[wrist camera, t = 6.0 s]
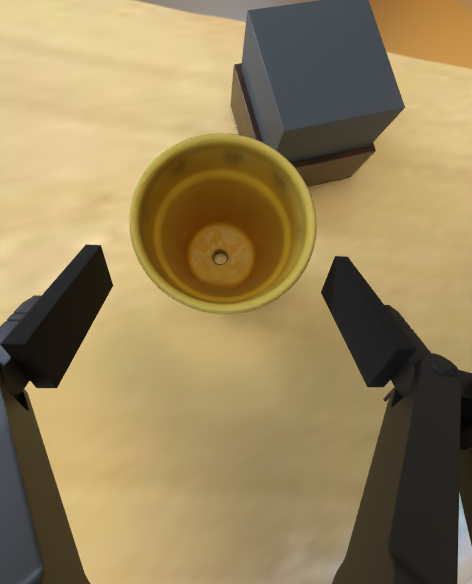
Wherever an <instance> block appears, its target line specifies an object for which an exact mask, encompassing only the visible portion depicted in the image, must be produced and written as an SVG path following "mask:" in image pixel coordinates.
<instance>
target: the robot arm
mask: <svg viewBox="0 0 472 584" xmlns="http://www.w3.org/2000/svg"><path fill="white" fill-rule="evenodd" d="M112 287H113V284H112V280H111V277H110V274H109V271H108V267H107V264H106V261H105V257H104V254H103V251H102V247H101V245H85V246H84V248H83V249H82V250H81V251H80V252H79V253H78V254H77V256H76V257H75V258H74V259H73V260H72V261H71V263H70V264H69V265H68V266H67V267H66V268H65V269H64V271H63V272H62V273H61V274H60V275H59V276H58V277H57V279H56V280H55V281H54V282H53V283H52V284H51V286H50V287H49V288H48V289H47V290H46V291H45V292H44V294H43V295H42V296H33V297H31V298H30V299H28V300H27V301H25V302H23V303H22V304H21V305H20V306H19V307H18V308H17V309H16V310H15V312H14V314H12V315H11V316H10V317H9V318H8V319H7V321H5V322H4V323H3V324H2V326H1V327H0V584H90V582H89V581H88V579H87V577H86V575H85V573H84V570H83V567H82V564H81V561H80V558H79V554H78V551H77V548H76V545H75V542H74V538H73V535H72V532H71V529H70V526H69V523H68V519H67V516H66V513H65V510H64V507H63V504H62V500H61V497H60V494H59V491H58V488H57V485H56V481H55V478H54V475H53V472H52V469H51V466H50V462H49V459H48V456H47V453H46V450H45V447H44V443H43V440H42V437H41V434H40V431H39V427H38V424H37V421H36V418H35V415H34V412H33V408H32V405H31V402H30V399H29V396H28V393H27V392H26V390H25V389H24V388H25V387H26V385H27V384H28V382H29V381H31V382H32V383H33V384H34V386H35V387H36V388H57V387H58V385H59V383H60V382H61V380H62V378H63V376H64V374H65V372H66V371H67V369H68V367H69V365H70V363H71V361H72V360H73V358H74V356H75V354H76V352H77V351H78V349H79V347H80V345H81V343H82V341H83V340H84V338H85V336H86V334H87V332H88V330H89V329H90V327H91V325H92V323H93V321H94V320H95V318H96V316H97V314H98V312H99V310H100V309H101V307H102V305H103V303H104V301H105V299H106V298H107V296H108V294H109V292H110V290H111V289H112ZM321 293H322V296H323V298H324V300H325V302H326V304H327V306H328V308H329V310H330V312H331V314H332V316H333V318H334V320H335V322H336V324H337V326H338V328H339V330H340V332H341V334H342V336H343V338H344V340H345V342H346V344H347V346H348V348H349V350H350V352H351V354H352V356H353V358H354V360H355V362H356V364H357V367H358V369H359V371H360V373H361V375H362V377H363V379H364V381H365V383H366V385H367V387H384V386H385V385H386V384H387V383H388V382H389V381H390V380H391V381H392V383H393V385H394V386H395V387H394V388H393V389H392V390H391V391H390V392H389V393H388V394H387V395H386V397H385V398H384V399H383V400H384V401H385V402H386V401H387V400H388V399H389V401H388V404H387V408H386V412H385V415H384V419H383V423H382V426H381V430H380V434H379V437H378V441H377V445H376V448H375V452H374V456H373V459H372V463H371V467H370V470H369V474H368V478H367V481H366V485H365V488H364V492H363V496H362V499H361V503H360V507H359V510H358V514H357V518H356V521H355V525H354V529H353V532H352V536H351V540H350V543H349V547H348V551H347V554H346V557H345V559H344V561H343V563H342V564H341V566H340V567H339V569H338V570H337V573H336V575H335V577H334V580H333V583H332V584H457V570H458V521H459V492H460V496H461V501H462V505H463V510H464V514H465V518H466V523H467V527H468V532H469V536H470V540H471V545H472V373H468V372H465V371H461V370H458V368H457V367H456V366H455V365H454V364H453V363H452V362H451V361H449V360H448V359H446V358H444V357H443V356H440V355H437V354H432V353H431V352H430V351H429V350H428V349H427V347H426V346H425V345H424V344H423V342H422V341H421V340H420V339H419V337H418V336H417V335H416V334H415V332H414V331H413V330H412V329H410V326H409V325H408V324H407V322H405V320H404V318H403V317H402V316H401V315H400V313H399V312H397V311H396V310H395V309H394V308H392V307H391V306H390V305H384V304H383V303H382V302H381V300H380V299H379V298H378V296H377V295H376V294H375V292H374V291H373V290H372V288H371V287H370V286H369V284H368V283H367V282H366V280H365V279H364V278H363V276H362V275H361V274H360V272H359V271H358V270H357V269H356V267H355V266H354V265H353V263H352V262H351V261H350V259H349V258H348V257H340V256H335V258H334V260H333V263H332V266H331V268H330V271H329V273H328V276H327V278H326V281H325V284H324V286H323V289H322V291H321Z"/></svg>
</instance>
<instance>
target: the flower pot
mask: <svg viewBox="0 0 472 584" xmlns="http://www.w3.org/2000/svg"><path fill="white" fill-rule="evenodd" d="M130 235H131V240H132V244H133V248H134V251H135V253H136V256H137V258H138V260H139V262H140V264H141V266H142V268H143V269H144V271H145V272H146V274H147V275H148V277H149V278H150V279H151V280H152V281H153V282H154V283H155V284H156V285H157V286H158V288H160V289H161V290H162V291H163V292H164V293H165V294H167V295H168V296H170V297H171V298H173V299H174V300H176V301H178V302H179V303H181V304H183V305H186V306H188V307H190V308H193V309H196V310H199V311H203V312H208V313H214V314H235V313H242V312H247V311H251V310H255V309H257V308H260V307H263V306H265V305H267V304H269V303H271V302H273V301H274V300H276V299H277V298H279V297H280V296H282V295H283V294H284V293H285V292H287V291H288V290H289V289H290V288H291V287H292V286H293V285H294V284H295V282H296V281H297V280H298V279H299V277H300V276H301V275H302V273H303V271H304V270H305V268H306V266H307V264H308V262H309V260H310V257H311V255H312V252H313V248H314V244H315V239H316V213H315V208H314V203H313V200H312V197H311V194H310V192H309V190H308V187H307V185H306V183H305V182H304V180H303V178H302V177H301V175H300V174H299V172H298V171H297V170H296V169H295V167H294V166H293V165H292V164H291V163H290V162H289V161H288V160H287V159H286V158H285V157H284V156H283V155H281V154H280V153H279V152H277V151H276V150H275V149H273V148H271V147H270V146H268V145H266V144H264V143H262V142H260V141H258V140H255V139H252V138H249V137H245V136H241V135H236V134H223V133H217V134H207V135H200V136H196V137H192V138H190V139H187V140H184V141H182V142H180V143H178V144H176V145H174V146H172V147H171V148H169V149H168V150H166V151H165V152H163V153H162V154H161V155H160V156H159V157H158V158H156V159H155V160H154V161H153V162H152V163H151V165H150V166H149V167H148V168H147V169H146V171H145V172H144V174H143V175H142V177H141V179H140V180H139V182H138V184H137V187H136V189H135V192H134V195H133V199H132V203H131V208H130ZM217 252H223V253H225V254H226V256H227V261H226V262H225V263H224V264H221V265H219V264H216V263H215V262H214V260H213V256H214V254H215V253H217Z"/></svg>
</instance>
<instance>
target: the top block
mask: <svg viewBox="0 0 472 584" xmlns="http://www.w3.org/2000/svg"><path fill="white" fill-rule="evenodd" d="M241 70H242V73H243V76H244V80H245V83H246V86H247V90H248V93H249V97H250V100H251V103H252V107H253V110H254V114H255V117H256V120H257V124H258V127H259V130H260V134H261V137H262V141H263V143H264V144H266V145H268V146H270V147H271V148H273V149H275V150H276V151H277V152H279V153H280V154H281V155H283V156H284V157H285V158H286V159H287V160H288V161H289V162H290V163H293V162H298V161H303V160H307V159H312V158H317V157H321V156H326V155H331V154H336V153H340V152H345V151H350V150H354V149H359V148H364V147H368V146H370V145H371V144H372V143H373V142H374V141H375V140H376V138H377V137H378V136H379V135H380V134H381V133H382V132H383V131H384V130H385V129H386V128H387V126H388V125H389V124H390V123H391V122H392V121H393V120H394V119H395V118H396V117H397V116H398V114H399V113H400V112H401V111H402V110H403V109H404V108H405V106H404V103H403V100H402V97H401V94H400V91H399V89H398V86H397V83H396V80H395V77H394V74H393V71H392V68H391V65H390V62H389V59H388V56H387V53H386V50H385V48H384V45H383V42H382V39H381V36H380V33H379V30H378V27H377V24H376V21H375V18H374V15H373V12H372V9H371V7H370V4H369V1H368V0H320V1H313V2H306V3H299V4H291V5H284V6H276V7H269V8H262V9H255V10H248V11H247V20H246V29H245V38H244V47H243V56H242V66H241Z"/></svg>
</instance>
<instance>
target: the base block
mask: <svg viewBox="0 0 472 584" xmlns="http://www.w3.org/2000/svg"><path fill="white" fill-rule="evenodd" d="M241 66H242V63H241V64H235V65H234V69H233V82H232V95H231V107H232V111H233V114H234V118H235V121H236V125H237V128H238V132H239V135H241V136H245V137H249V138H252V139H255V140H258V141H260V142H262V143H263V141H262V137H261V134H260V130H259V127H258V124H257V120H256V117H255V114H254V110H253V107H252V103H251V100H250V97H249V93H248V90H247V86H246V83H245V80H244V76H243V73H242V70H241ZM375 151H376V150H375V147H374V144H373V143H372V144H371V145H370V146H368V147H364V148H359V149H354V150H350V151H345V152H340V153H336V154H331V155H326V156H321V157H317V158H312V159H307V160H303V161H298V162H293V163H291V164H292V165H293V166H294V167H295V169H296V170H297V171H298V172H299V174H300V175H301V177H302V178H303V180H304V182H305V183H306V185H307V186H312V185H316V184H321V183H325V182H329V181H334V180H338V179H343V178H347V177H351V176H352V175H353V174H354V173H355V172H356V171H357V170H358V169H359V168H360V167H361V166H362V165H363V164H364V163H365V162H366V161H367V160H368V158H369V157H370V156H371V155H372V154H373V153H374V152H375Z"/></svg>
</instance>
